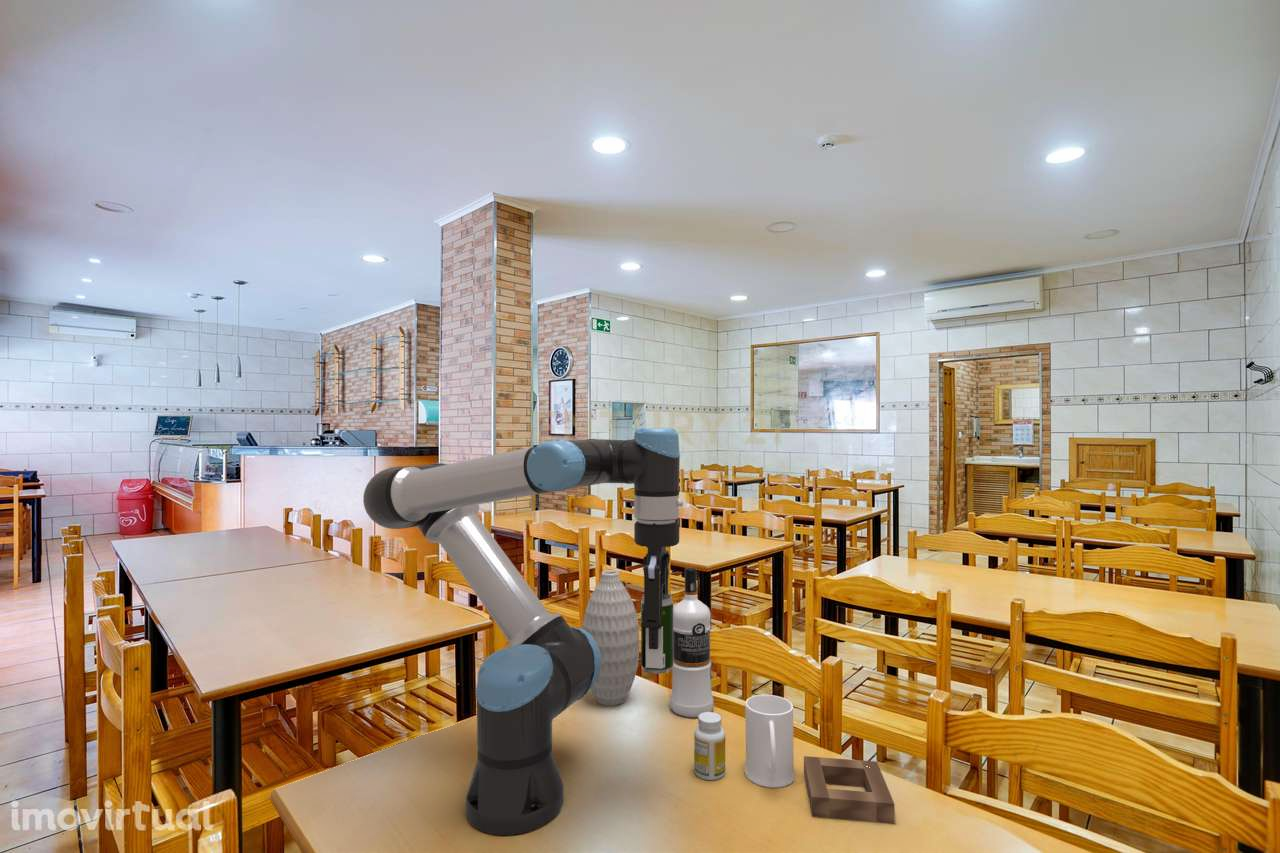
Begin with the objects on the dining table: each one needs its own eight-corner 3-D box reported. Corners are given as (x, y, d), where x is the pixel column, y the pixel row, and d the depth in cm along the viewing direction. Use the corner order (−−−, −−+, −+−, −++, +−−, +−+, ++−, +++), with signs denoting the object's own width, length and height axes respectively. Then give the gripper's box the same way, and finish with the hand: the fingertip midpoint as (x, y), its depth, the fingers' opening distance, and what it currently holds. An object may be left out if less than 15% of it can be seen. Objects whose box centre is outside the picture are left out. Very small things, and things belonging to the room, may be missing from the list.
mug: (796, 802, 98) (796, 726, 98) (742, 796, 99) (741, 721, 100) (794, 763, 109) (793, 695, 109) (745, 758, 111) (745, 691, 111)
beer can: (677, 673, 100) (677, 599, 100) (645, 675, 99) (645, 601, 99) (668, 661, 105) (668, 590, 105) (637, 663, 104) (637, 592, 104)
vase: (619, 718, 127) (619, 581, 127) (570, 704, 134) (569, 574, 134) (650, 695, 138) (649, 569, 138) (603, 683, 144) (602, 563, 145)
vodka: (705, 698, 136) (704, 562, 137) (719, 716, 127) (718, 571, 128) (665, 702, 134) (664, 564, 135) (676, 721, 125) (675, 574, 126)
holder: (812, 816, 94) (811, 796, 94) (803, 773, 106) (803, 756, 106) (894, 823, 92) (894, 803, 92) (877, 779, 104) (876, 761, 104)
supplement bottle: (695, 781, 104) (695, 724, 104) (693, 764, 109) (692, 709, 109) (727, 781, 104) (727, 724, 104) (723, 764, 109) (723, 709, 109)
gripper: (673, 529, 93) (673, 684, 93) (684, 513, 111) (684, 642, 111) (624, 528, 94) (624, 680, 94) (643, 512, 112) (643, 640, 112)
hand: (656, 660), depth 102 cm, fingers closed on beer can, 5 cm apart
